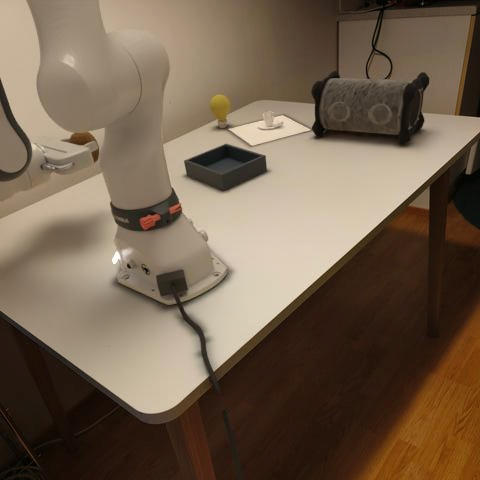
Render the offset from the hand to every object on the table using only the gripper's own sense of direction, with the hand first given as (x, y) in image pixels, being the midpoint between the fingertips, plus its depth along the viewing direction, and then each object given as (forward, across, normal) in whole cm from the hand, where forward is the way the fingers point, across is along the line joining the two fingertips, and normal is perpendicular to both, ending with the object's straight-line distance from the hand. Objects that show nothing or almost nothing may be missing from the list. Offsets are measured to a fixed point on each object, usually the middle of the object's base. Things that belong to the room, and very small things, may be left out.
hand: (86, 142), depth 102 cm
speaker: (+70, -31, +17) cm, 78 cm away
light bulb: (+59, +16, +17) cm, 63 cm away
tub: (+30, -12, +17) cm, 37 cm away
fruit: (-1, 0, +5) cm, 5 cm away
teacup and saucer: (+62, -1, +17) cm, 65 cm away
